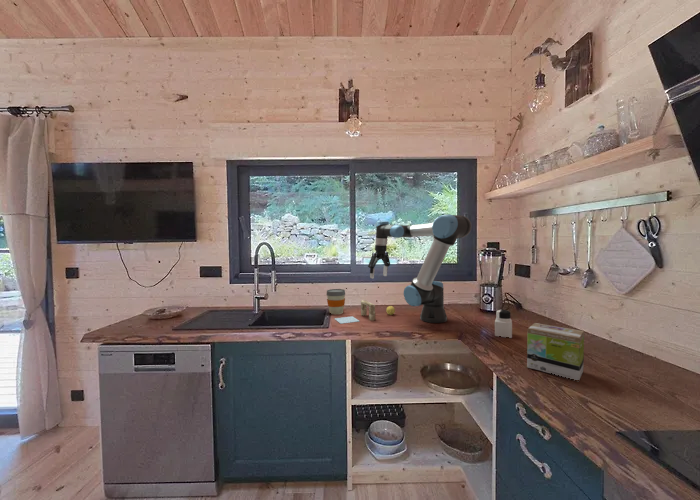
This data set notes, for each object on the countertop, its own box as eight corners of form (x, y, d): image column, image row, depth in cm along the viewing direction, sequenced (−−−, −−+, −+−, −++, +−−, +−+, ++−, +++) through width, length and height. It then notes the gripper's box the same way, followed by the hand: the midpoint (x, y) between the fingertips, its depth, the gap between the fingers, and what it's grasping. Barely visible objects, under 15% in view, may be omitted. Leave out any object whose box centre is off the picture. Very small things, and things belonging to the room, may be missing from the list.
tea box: (526, 368, 102) (526, 327, 102) (533, 360, 109) (533, 321, 109) (580, 382, 92) (580, 336, 91) (584, 372, 99) (584, 329, 98)
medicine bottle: (512, 334, 140) (511, 309, 140) (511, 338, 134) (511, 313, 134) (495, 332, 144) (495, 308, 143) (494, 336, 138) (494, 311, 137)
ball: (396, 315, 181) (396, 306, 181) (389, 316, 179) (388, 307, 179) (392, 313, 186) (392, 304, 186) (384, 314, 184) (384, 305, 184)
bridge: (365, 314, 184) (365, 300, 184) (375, 320, 170) (374, 304, 170) (361, 315, 183) (360, 300, 183) (370, 320, 169) (370, 305, 169)
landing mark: (359, 321, 168) (359, 321, 168) (340, 323, 164) (340, 323, 164) (352, 316, 180) (352, 316, 180) (334, 318, 175) (334, 318, 175)
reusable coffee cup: (323, 313, 189) (322, 290, 189) (335, 309, 199) (334, 288, 199) (337, 316, 182) (337, 292, 181) (349, 312, 192) (349, 289, 191)
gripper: (388, 243, 195) (385, 273, 198) (363, 244, 177) (361, 278, 180) (397, 244, 190) (394, 275, 193) (373, 246, 172) (370, 280, 175)
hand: (378, 277), depth 186 cm, fingers open, 13 cm apart
